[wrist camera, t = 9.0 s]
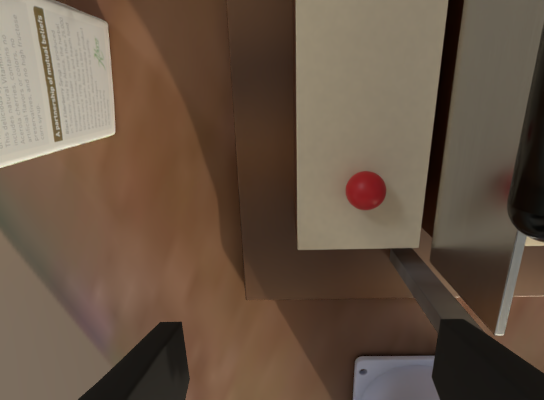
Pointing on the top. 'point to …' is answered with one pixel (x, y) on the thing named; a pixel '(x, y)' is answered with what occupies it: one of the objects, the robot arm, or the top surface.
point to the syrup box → (52, 79)
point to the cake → (370, 119)
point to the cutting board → (280, 191)
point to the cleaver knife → (492, 156)
